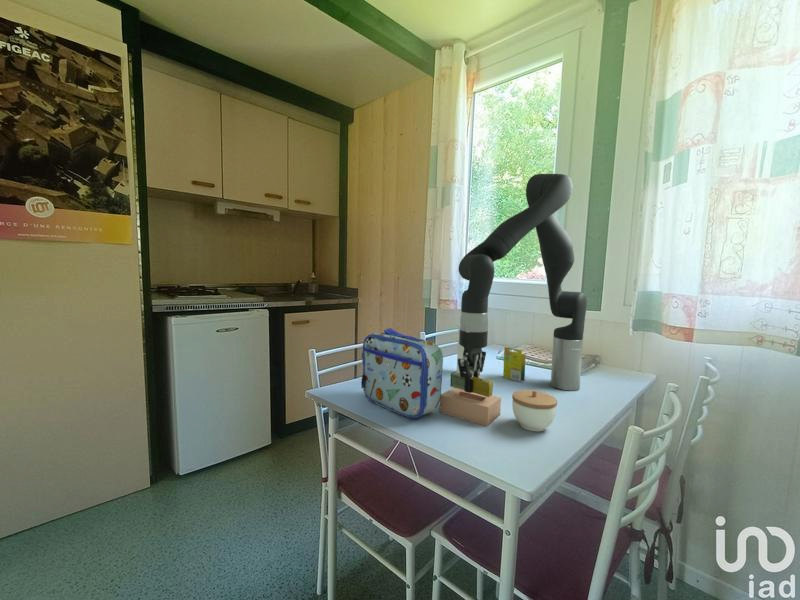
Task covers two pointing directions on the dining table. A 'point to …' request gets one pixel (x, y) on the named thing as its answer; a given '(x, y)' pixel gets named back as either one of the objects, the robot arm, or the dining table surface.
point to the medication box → (479, 384)
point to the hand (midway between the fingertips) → (471, 390)
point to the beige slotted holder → (470, 406)
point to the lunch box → (402, 373)
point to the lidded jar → (534, 409)
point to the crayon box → (514, 364)
